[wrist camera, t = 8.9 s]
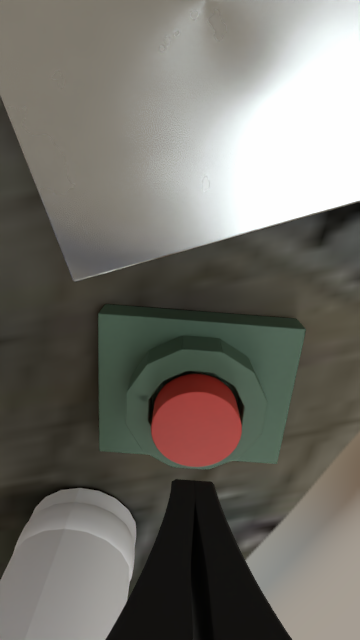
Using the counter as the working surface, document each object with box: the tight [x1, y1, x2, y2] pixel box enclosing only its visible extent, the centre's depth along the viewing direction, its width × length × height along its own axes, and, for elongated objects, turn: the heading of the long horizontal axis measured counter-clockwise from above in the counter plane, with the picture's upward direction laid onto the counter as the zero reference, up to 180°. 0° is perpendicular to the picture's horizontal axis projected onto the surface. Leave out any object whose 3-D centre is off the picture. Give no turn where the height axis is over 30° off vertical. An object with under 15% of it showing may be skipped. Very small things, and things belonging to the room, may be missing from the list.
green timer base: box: [98, 304, 306, 470], centre depth 20 cm, size 11×9×4 cm
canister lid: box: [0, 0, 360, 282], centre depth 10 cm, size 13×13×1 cm
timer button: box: [151, 374, 242, 467], centre depth 17 cm, size 4×4×2 cm
